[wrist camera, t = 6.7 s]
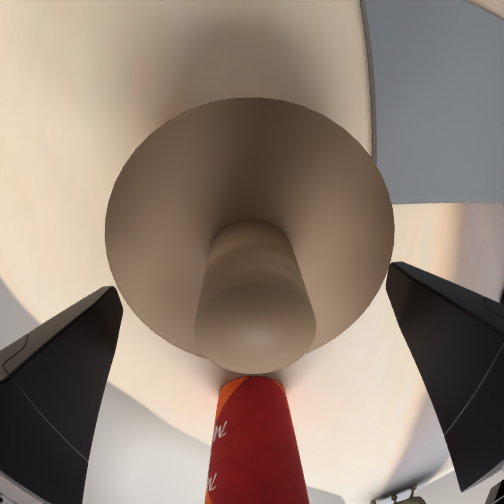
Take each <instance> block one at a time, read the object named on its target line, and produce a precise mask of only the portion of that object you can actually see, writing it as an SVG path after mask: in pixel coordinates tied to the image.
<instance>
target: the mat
mask: <svg viewBox="0 0 504 504" xmlns="http://www.w3.org/2000/svg"><path fill="white" fill-rule="evenodd" d="M360 2H361V8H362V14H363V21H364V28H365V36H366V44H367V53H368V63H369V75H370V89H371V108H372V159H373V161H374V163H375V164H376V166H377V168H378V169H379V171H380V173H381V175H382V177H383V179H384V182H385V184H386V187H387V189H388V192H389V196H390V200H391V204H419V203H504V20H503V19H501V18H499V17H497V16H495V15H493V14H492V13H490V12H488V11H486V10H484V9H482V8H480V7H478V6H476V5H474V4H471V3H469V2H467V1H465V0H360Z"/></svg>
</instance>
